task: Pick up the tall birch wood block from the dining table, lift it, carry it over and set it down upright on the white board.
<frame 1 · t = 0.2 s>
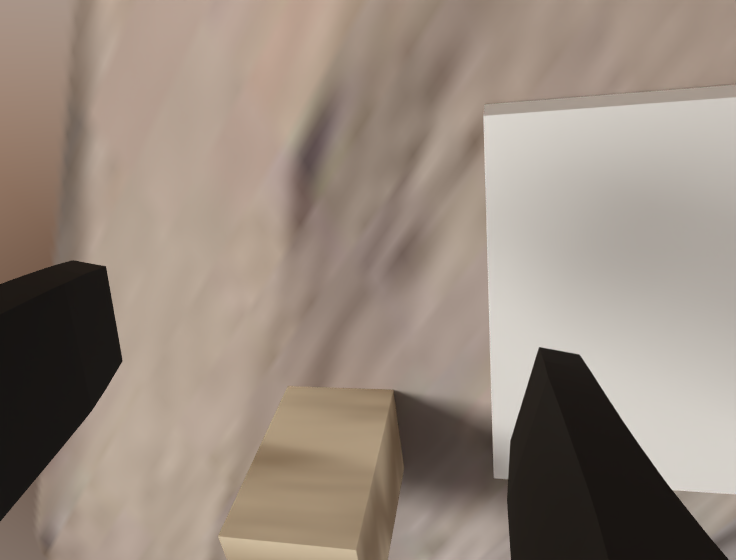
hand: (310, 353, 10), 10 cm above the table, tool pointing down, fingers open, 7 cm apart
birch block: (347, 428, 24), on the table
white board: (716, 309, 18), on the table
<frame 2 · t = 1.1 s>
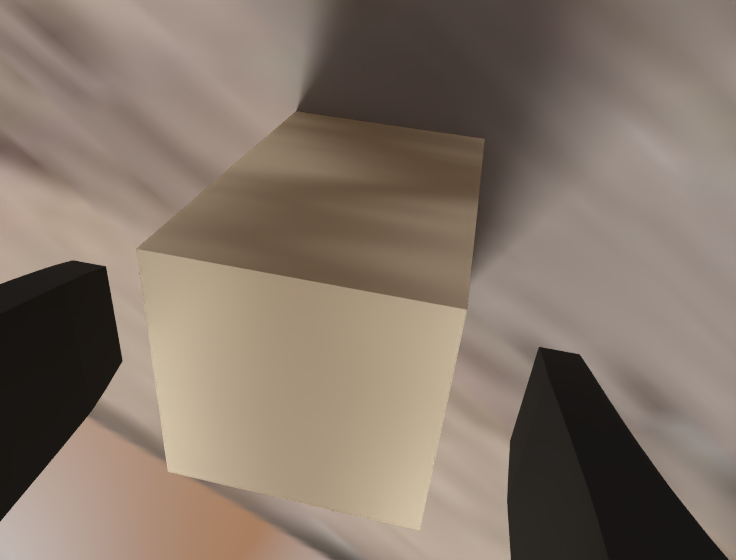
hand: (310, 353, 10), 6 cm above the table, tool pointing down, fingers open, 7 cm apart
birch block: (379, 211, 14), on the table
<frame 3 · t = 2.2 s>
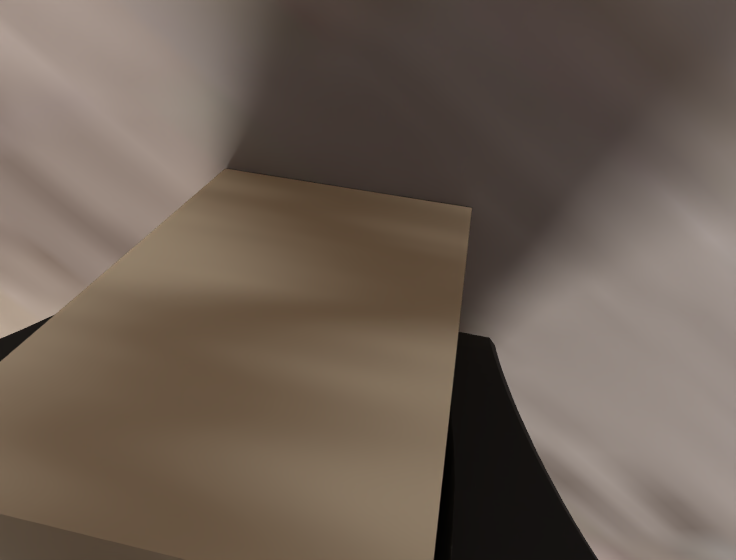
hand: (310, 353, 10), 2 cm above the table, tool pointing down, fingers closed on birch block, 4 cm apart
birch block: (337, 293, 11), on the table, touching gripper
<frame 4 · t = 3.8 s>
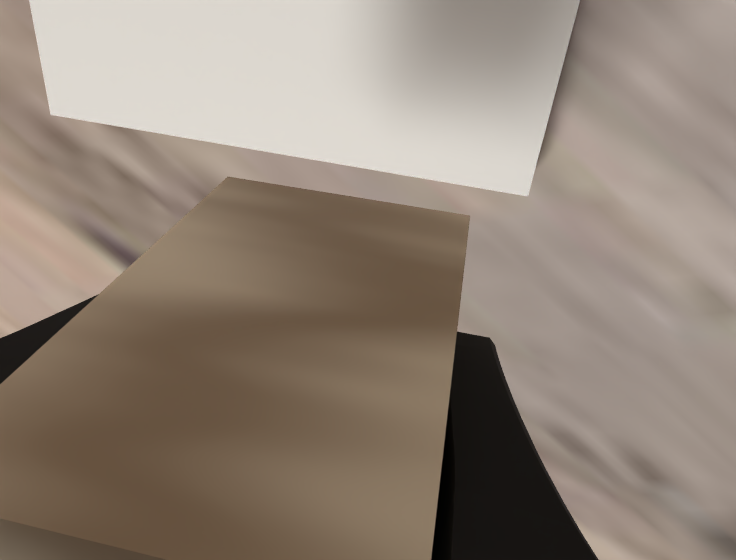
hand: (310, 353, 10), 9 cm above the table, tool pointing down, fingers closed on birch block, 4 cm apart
birch block: (338, 298, 11), point 7 cm above the table, touching gripper
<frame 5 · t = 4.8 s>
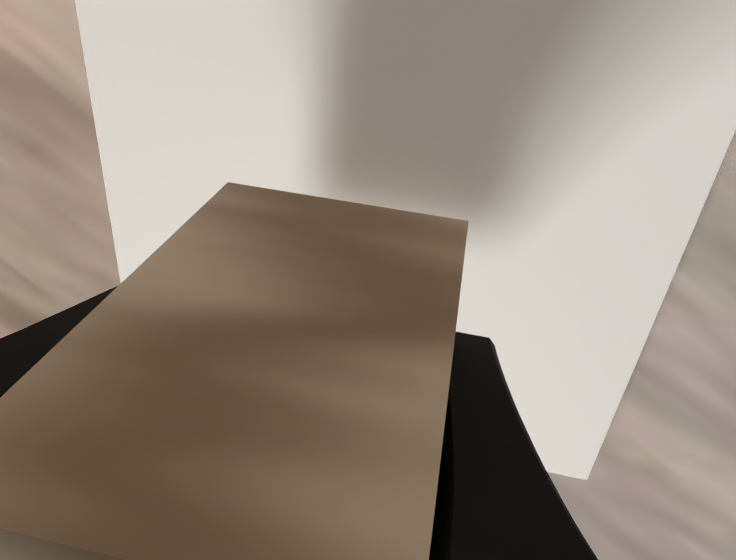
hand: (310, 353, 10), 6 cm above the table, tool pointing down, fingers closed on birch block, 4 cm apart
birch block: (338, 302, 12), point 4 cm above the table, touching gripper
white board: (380, 203, 15), on the table
when the fingers open (4 cm above the table, at t = 5.6 s): birch block drops 1 cm, resting on white board.
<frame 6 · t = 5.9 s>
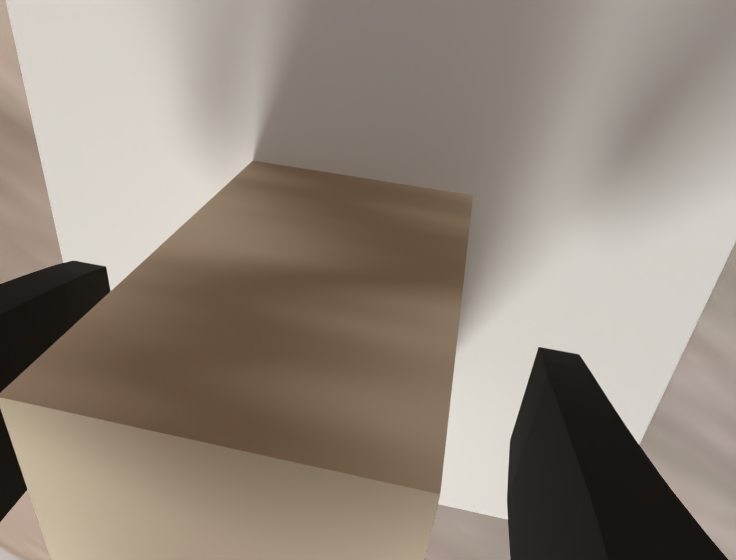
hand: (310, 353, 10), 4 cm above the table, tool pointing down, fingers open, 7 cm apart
birch block: (352, 273, 13), point 1 cm above the table, touching white board
white board: (363, 236, 13), on the table
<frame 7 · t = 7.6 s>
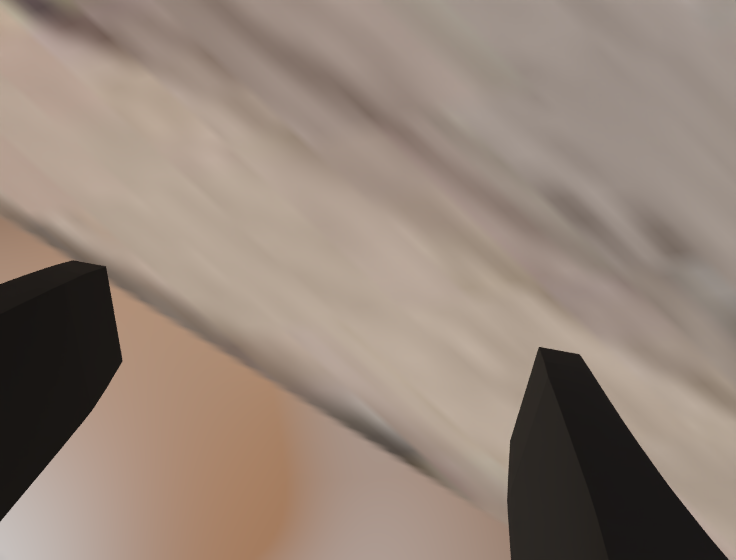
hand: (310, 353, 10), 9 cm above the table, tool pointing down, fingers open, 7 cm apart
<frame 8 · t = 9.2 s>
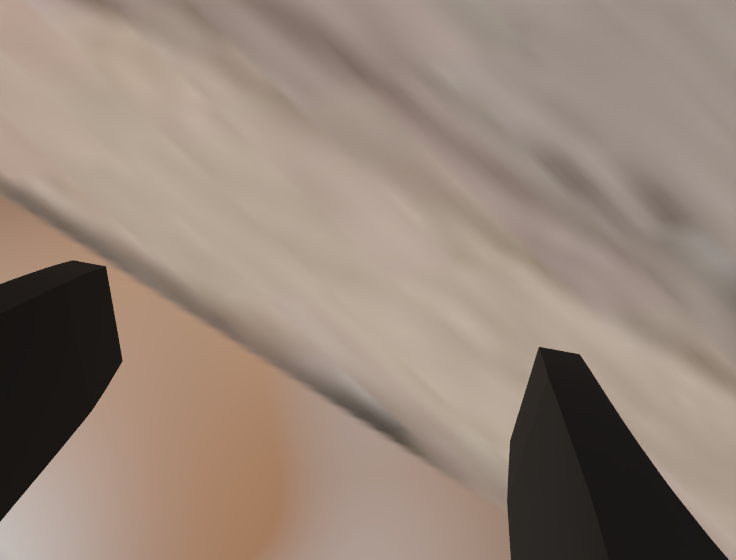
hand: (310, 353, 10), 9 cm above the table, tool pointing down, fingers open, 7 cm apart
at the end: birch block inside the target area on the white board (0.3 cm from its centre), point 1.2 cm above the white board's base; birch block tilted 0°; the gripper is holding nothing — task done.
